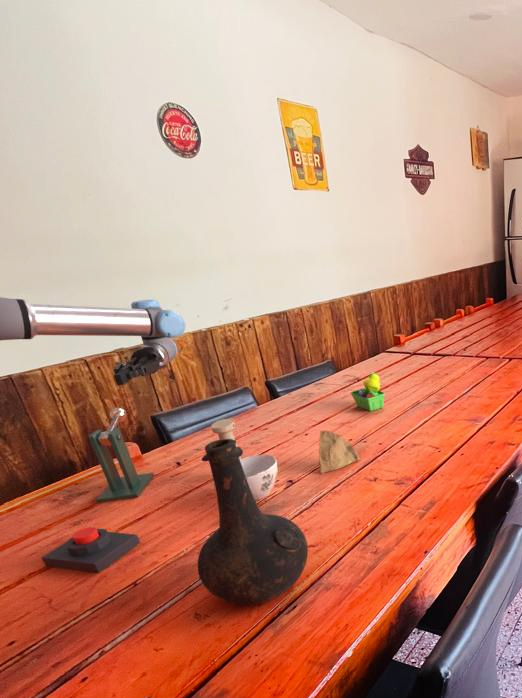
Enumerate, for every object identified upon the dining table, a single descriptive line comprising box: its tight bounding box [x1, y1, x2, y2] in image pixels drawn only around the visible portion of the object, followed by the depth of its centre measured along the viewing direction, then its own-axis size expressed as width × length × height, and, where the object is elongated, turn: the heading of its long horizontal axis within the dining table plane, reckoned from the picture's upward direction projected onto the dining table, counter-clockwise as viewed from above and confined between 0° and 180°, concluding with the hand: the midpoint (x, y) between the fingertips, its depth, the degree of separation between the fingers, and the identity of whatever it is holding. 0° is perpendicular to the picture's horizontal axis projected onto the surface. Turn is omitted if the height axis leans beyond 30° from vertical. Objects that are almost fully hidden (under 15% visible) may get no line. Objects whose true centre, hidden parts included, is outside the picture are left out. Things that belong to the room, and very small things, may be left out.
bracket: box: [88, 427, 155, 504], centre depth 125 cm, size 12×9×16 cm
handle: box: [210, 418, 242, 459], centre depth 129 cm, size 5×6×15 cm
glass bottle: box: [197, 439, 309, 606], centre depth 86 cm, size 18×18×28 cm
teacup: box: [240, 454, 278, 501], centre depth 120 cm, size 15×12×8 cm
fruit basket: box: [350, 372, 386, 412], centre depth 175 cm, size 11×9×11 cm
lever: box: [98, 407, 128, 447], centre depth 127 cm, size 13×4×4 cm, turn 13°
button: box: [71, 526, 99, 545], centre depth 101 cm, size 4×4×2 cm
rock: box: [318, 430, 361, 475], centre depth 134 cm, size 11×9×10 cm
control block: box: [41, 528, 141, 574], centre depth 103 cm, size 13×10×4 cm
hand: (118, 380), depth 133 cm, fingers closed
